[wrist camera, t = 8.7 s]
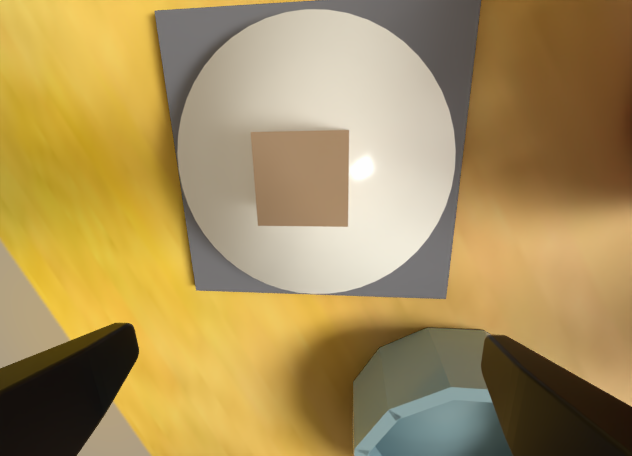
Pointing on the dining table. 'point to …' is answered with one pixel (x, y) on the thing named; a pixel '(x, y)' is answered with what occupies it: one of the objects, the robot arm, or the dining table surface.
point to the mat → (386, 11)
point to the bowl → (427, 399)
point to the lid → (316, 151)
